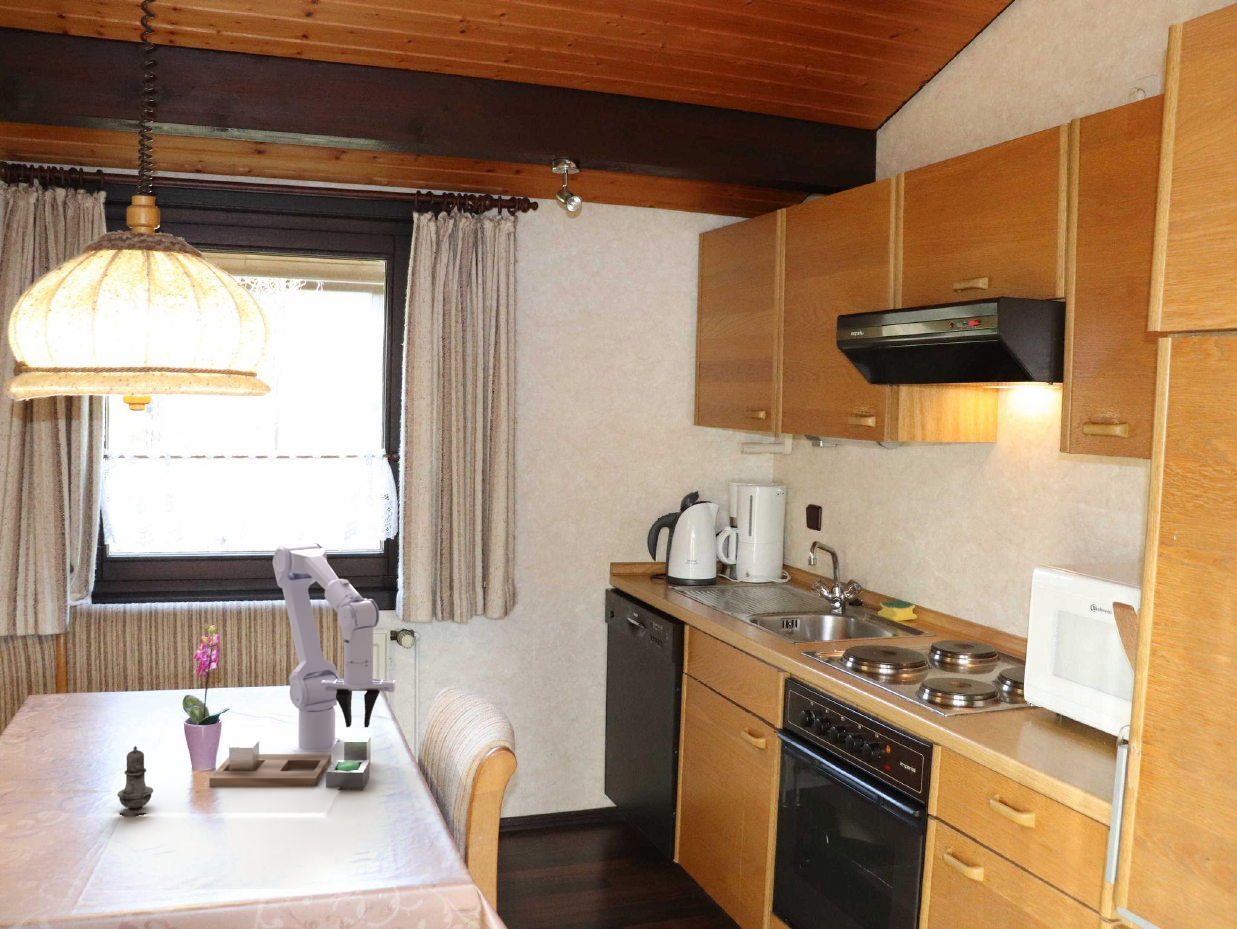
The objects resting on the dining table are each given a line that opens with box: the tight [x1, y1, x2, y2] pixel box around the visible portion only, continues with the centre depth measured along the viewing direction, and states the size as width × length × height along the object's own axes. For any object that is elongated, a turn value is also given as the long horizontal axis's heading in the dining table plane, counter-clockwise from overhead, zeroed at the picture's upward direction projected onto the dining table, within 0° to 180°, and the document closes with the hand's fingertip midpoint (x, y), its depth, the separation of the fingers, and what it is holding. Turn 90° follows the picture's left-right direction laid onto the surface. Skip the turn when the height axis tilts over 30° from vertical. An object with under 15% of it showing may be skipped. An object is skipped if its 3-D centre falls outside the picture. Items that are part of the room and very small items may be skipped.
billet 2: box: [343, 733, 372, 766], centre depth 216 cm, size 4×4×6 cm
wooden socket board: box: [208, 753, 332, 788], centre depth 209 cm, size 14×20×2 cm
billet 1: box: [228, 739, 260, 771], centre depth 208 cm, size 4×4×6 cm
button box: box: [325, 759, 370, 791], centre depth 206 cm, size 7×7×4 cm
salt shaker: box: [117, 745, 154, 818], centre depth 189 cm, size 6×6×12 cm
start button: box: [338, 761, 359, 770], centre depth 206 cm, size 4×4×3 cm
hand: (357, 725), depth 215 cm, fingers open, 3 cm apart
